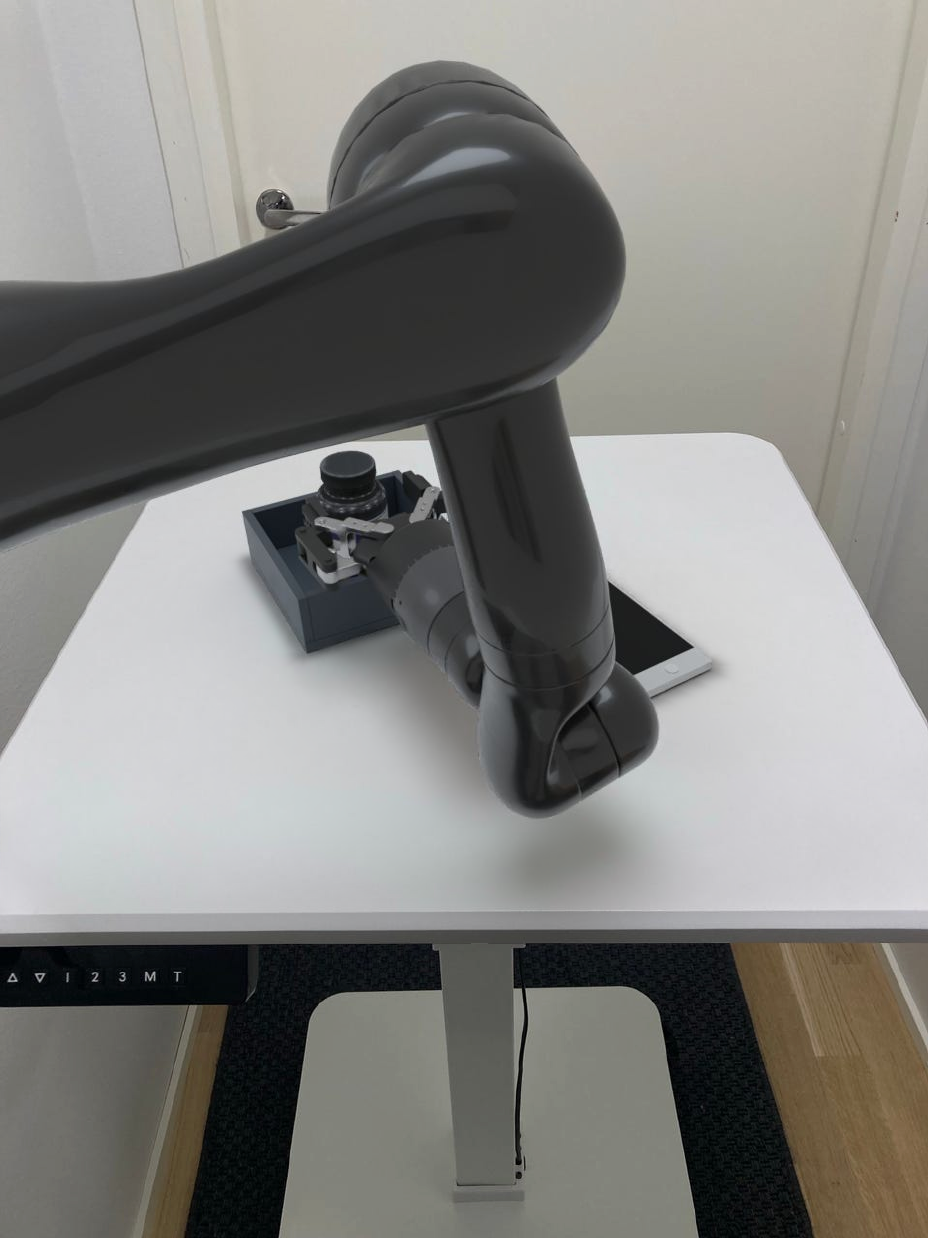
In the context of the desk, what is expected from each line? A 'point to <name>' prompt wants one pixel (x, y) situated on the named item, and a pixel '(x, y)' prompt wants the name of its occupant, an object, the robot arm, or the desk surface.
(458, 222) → the robot arm
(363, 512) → the pill bottle
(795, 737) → the desk surface
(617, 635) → the smartphone
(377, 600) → the open box
